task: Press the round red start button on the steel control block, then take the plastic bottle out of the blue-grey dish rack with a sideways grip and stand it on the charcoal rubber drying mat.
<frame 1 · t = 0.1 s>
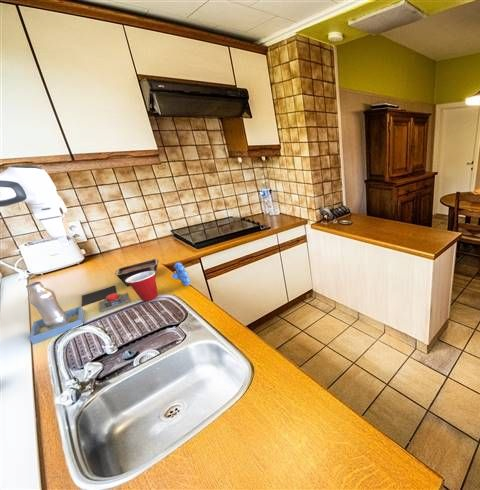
hand: (67, 243, 105), 31 cm above the worktop, tool pointing down, fingers open, 8 cm apart
dish rack: (60, 326, 106), on the worktop
start button: (112, 297, 118), point 3 cm above the worktop, slide at 0.1 cm
drying mat: (99, 295, 126), on the worktop
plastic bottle: (61, 327, 106), resting in dish rack
baking dish: (142, 278, 141), on the worktop
control block: (115, 303, 120), on the worktop
grapes: (184, 285, 132), on the worktop
plastic cup: (150, 298, 123), on the worktop
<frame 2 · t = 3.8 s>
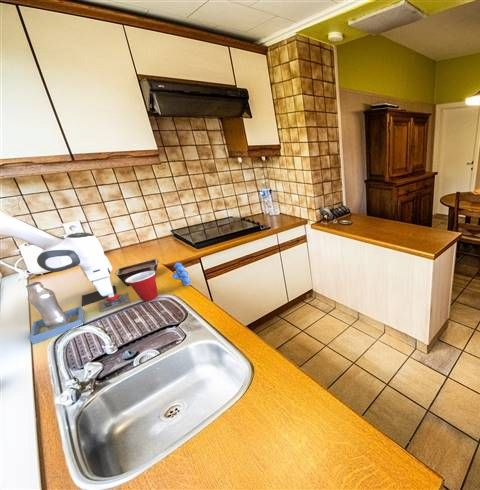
hand: (111, 296, 118), 4 cm above the worktop, tool pointing down, fingers closed, pressing on start button
start button: (112, 297, 118), point 3 cm above the worktop, slide at -0.3 cm, touching gripper
everything else where it was.
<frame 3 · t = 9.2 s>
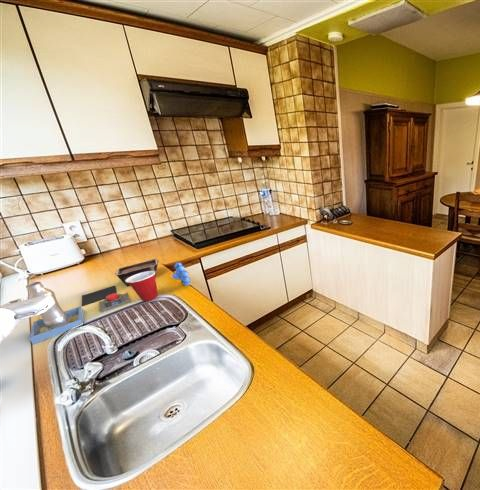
hand: (18, 301, 88), 20 cm above the worktop, tool horizontal, fingers closed
start button: (112, 297, 118), point 3 cm above the worktop, slide at 0.1 cm
everything else where it was.
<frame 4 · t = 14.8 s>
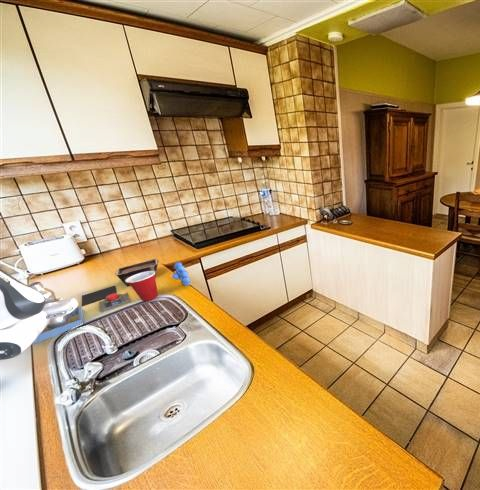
hand: (47, 302, 103), 11 cm above the worktop, tool horizontal, fingers closed on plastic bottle, 6 cm apart
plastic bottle: (61, 327, 106), resting in dish rack, touching gripper
everything else where it was.
when the fingers open (12 cm above the worktop, at t = 22.6 s): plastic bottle stays where it is, resting on drying mat.
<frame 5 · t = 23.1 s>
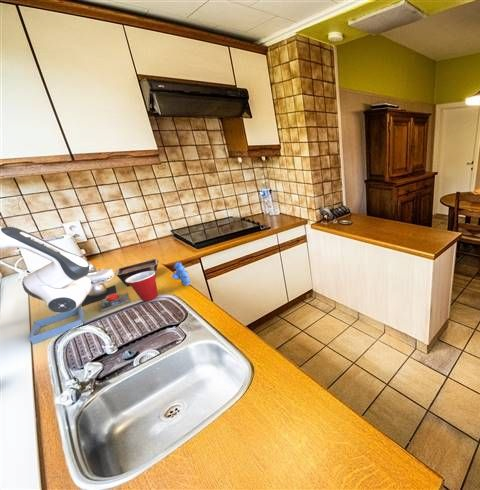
hand: (88, 273, 122), 12 cm above the worktop, tool horizontal, fingers open, 8 cm apart
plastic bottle: (99, 295, 126), resting on drying mat
everything else where it was.
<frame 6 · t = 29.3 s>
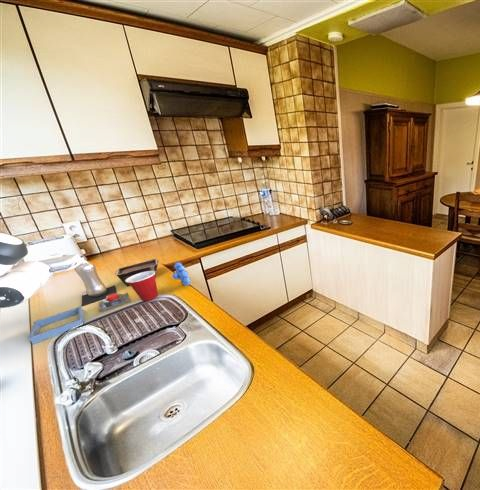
hand: (49, 259, 98), 28 cm above the worktop, tool horizontal, fingers open, 8 cm apart
nothing on the worktop moved.
at the end: start button pushed in 0.8 cm at the most during the clip, back to where it started at the end; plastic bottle inside the target area on the drying mat (0.1 cm from its centre), point 0.4 cm above the drying mat's base; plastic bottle tilted 0° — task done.
